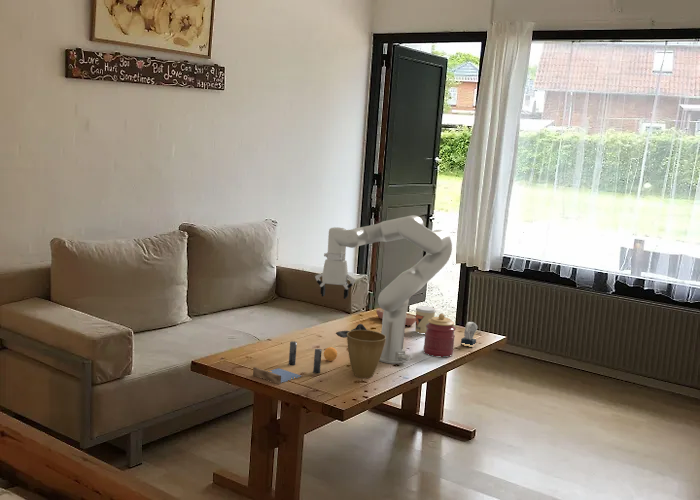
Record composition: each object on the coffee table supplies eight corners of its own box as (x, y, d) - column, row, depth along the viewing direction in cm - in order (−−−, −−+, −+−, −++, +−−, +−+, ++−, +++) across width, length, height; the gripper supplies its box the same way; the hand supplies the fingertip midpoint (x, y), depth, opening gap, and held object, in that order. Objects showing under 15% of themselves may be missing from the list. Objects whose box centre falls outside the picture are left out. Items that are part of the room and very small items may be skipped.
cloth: (329, 336, 348) (330, 322, 347) (351, 329, 363) (352, 316, 362) (371, 346, 336) (372, 333, 335) (392, 338, 352) (393, 326, 351)
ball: (339, 360, 308) (340, 347, 308) (331, 363, 304) (332, 350, 303) (328, 357, 312) (329, 344, 311) (320, 360, 307) (321, 347, 306)
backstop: (280, 383, 275) (281, 375, 275) (278, 384, 274) (279, 376, 274) (254, 374, 283) (255, 367, 282) (252, 375, 282) (253, 367, 281)
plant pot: (335, 373, 292) (338, 332, 290) (362, 367, 303) (366, 328, 300) (363, 384, 282) (366, 342, 280) (390, 377, 292) (394, 337, 290)
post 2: (321, 372, 292) (323, 349, 290) (317, 373, 290) (318, 351, 288) (316, 370, 293) (317, 348, 292) (311, 372, 291) (313, 349, 290)
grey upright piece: (477, 345, 350) (479, 321, 348) (470, 348, 343) (473, 324, 341) (465, 342, 352) (468, 319, 351) (459, 346, 345) (461, 322, 344)
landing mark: (302, 376, 285) (302, 375, 285) (280, 383, 276) (280, 382, 276) (278, 368, 292) (278, 368, 292) (256, 374, 283) (256, 374, 283)
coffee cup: (410, 330, 367) (413, 305, 366) (428, 330, 370) (430, 306, 369) (418, 335, 359) (420, 310, 357) (436, 335, 362) (438, 310, 360)
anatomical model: (419, 326, 377) (420, 316, 376) (407, 329, 369) (408, 319, 369) (383, 316, 392) (384, 307, 391) (371, 319, 384) (371, 309, 383)
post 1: (296, 364, 299) (298, 342, 298) (292, 365, 297) (293, 343, 296) (291, 363, 301) (293, 340, 299) (287, 364, 299) (288, 342, 297)
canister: (437, 359, 322) (441, 318, 320) (416, 350, 332) (420, 311, 330) (459, 355, 330) (463, 316, 327) (438, 347, 340) (442, 309, 337)
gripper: (314, 256, 318) (312, 296, 320) (354, 260, 314) (352, 300, 316) (318, 254, 325) (316, 293, 327) (358, 257, 321) (356, 297, 324)
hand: (334, 297), depth 322 cm, fingers open, 9 cm apart
